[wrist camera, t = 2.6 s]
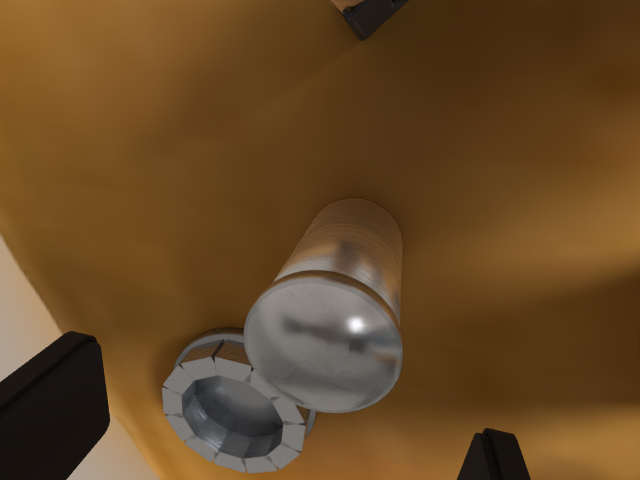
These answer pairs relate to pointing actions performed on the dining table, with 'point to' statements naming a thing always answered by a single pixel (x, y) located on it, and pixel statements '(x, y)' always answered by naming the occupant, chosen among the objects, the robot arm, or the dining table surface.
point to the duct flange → (232, 407)
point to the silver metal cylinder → (333, 312)
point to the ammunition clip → (367, 14)
